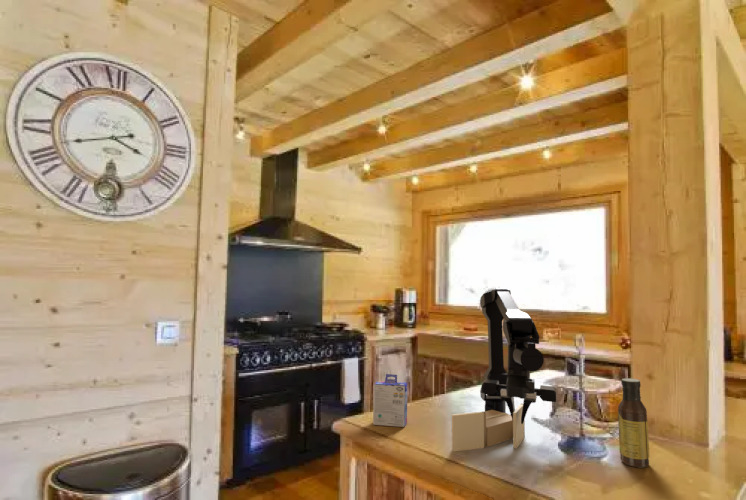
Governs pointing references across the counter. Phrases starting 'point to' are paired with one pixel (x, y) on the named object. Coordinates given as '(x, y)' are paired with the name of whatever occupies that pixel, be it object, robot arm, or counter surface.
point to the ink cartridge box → (390, 402)
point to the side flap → (518, 426)
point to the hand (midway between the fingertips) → (518, 423)
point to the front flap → (468, 431)
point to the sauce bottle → (633, 426)
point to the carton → (498, 427)
